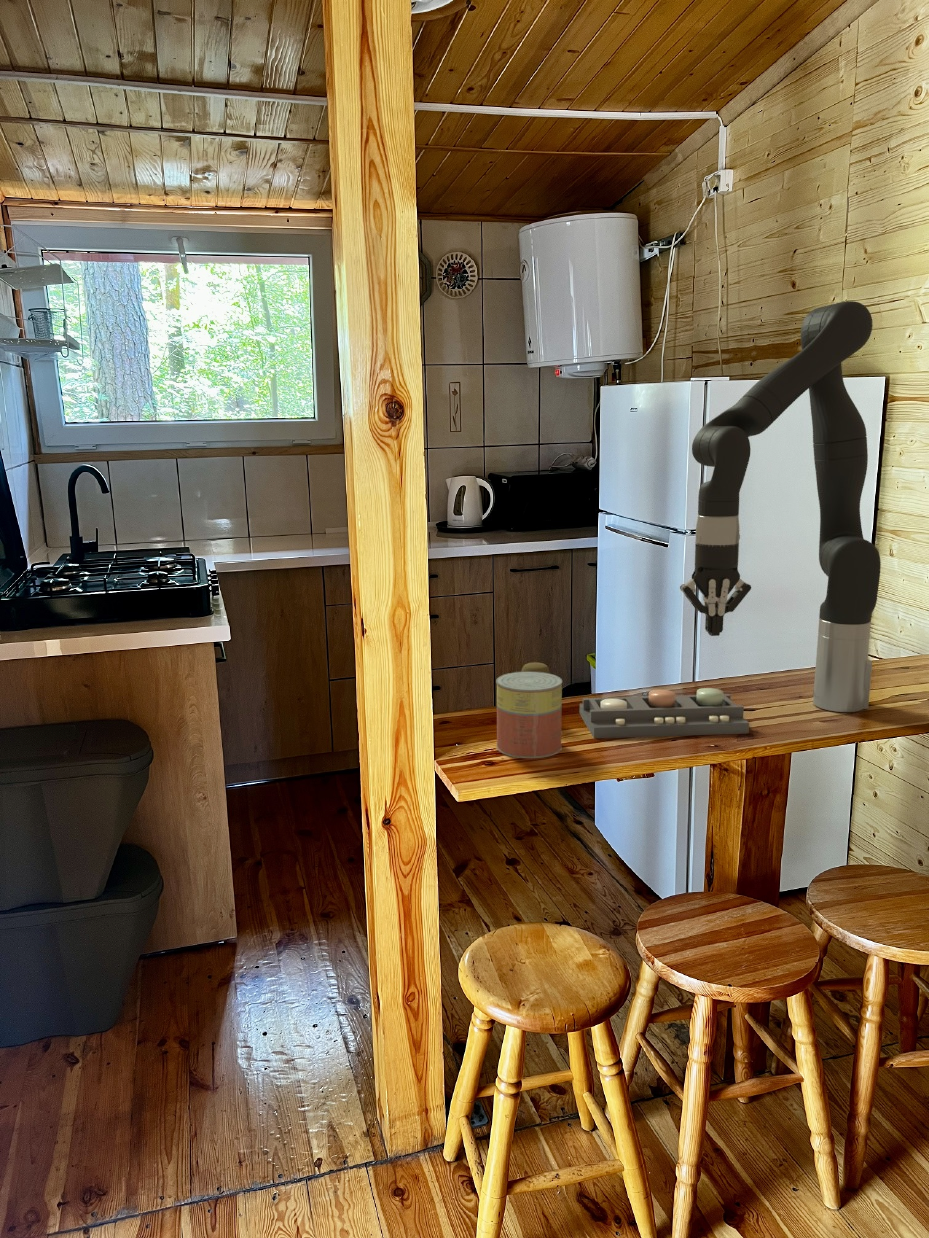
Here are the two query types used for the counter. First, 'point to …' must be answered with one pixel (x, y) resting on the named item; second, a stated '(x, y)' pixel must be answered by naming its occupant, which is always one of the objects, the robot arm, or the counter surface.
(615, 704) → the button one
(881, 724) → the counter surface
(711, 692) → the button two
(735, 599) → the robot arm
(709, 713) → the console
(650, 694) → the button three
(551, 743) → the canned food
